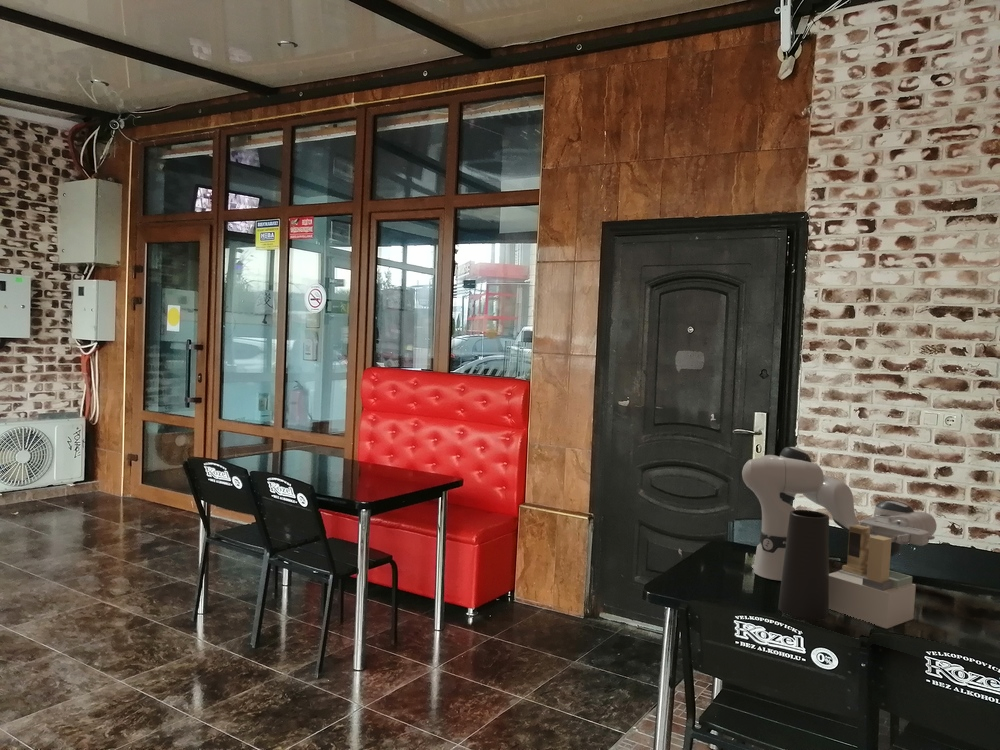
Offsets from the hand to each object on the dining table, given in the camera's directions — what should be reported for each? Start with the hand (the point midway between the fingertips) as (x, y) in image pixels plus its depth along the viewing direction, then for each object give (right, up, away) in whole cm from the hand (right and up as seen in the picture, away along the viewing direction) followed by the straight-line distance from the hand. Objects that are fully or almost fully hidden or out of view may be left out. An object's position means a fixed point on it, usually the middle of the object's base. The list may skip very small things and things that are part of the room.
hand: (881, 535), depth 247 cm
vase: (-29, -20, -13) cm, 38 cm away
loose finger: (-10, -10, -7) cm, 16 cm away
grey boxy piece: (-9, -20, -12) cm, 26 cm away
